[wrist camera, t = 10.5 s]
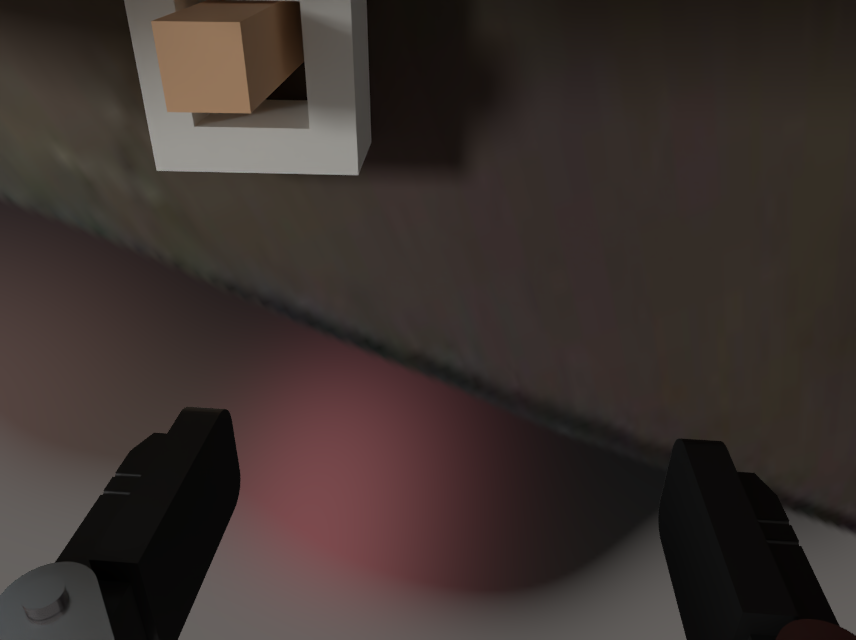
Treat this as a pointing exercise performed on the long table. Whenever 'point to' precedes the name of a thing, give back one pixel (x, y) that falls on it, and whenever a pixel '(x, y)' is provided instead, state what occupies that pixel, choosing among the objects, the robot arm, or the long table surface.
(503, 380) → the long table surface
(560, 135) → the long table surface
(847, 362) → the long table surface
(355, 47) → the socket
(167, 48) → the peg
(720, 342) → the long table surface
